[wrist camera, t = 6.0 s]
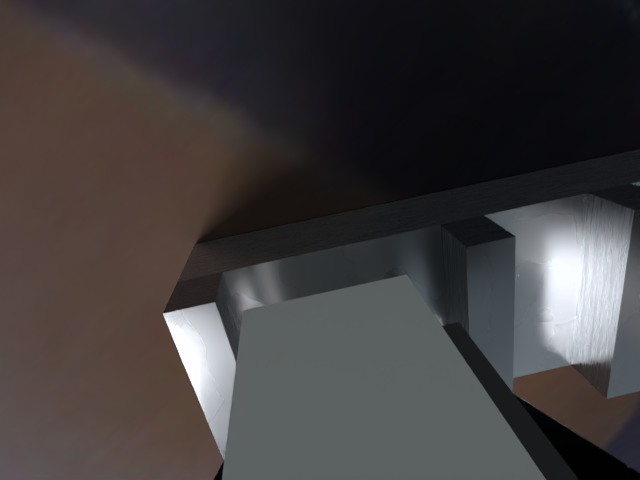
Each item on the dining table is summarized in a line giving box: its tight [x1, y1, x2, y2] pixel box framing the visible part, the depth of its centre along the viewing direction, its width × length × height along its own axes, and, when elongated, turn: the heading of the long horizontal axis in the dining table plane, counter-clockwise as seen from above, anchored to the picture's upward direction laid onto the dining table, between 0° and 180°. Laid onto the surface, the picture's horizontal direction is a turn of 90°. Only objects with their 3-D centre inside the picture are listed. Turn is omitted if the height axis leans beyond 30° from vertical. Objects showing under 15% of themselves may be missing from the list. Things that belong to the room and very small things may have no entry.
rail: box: [163, 149, 640, 460], centre depth 10 cm, size 6×20×8 cm, turn 101°
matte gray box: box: [222, 275, 579, 480], centre depth 8 cm, size 5×5×6 cm
